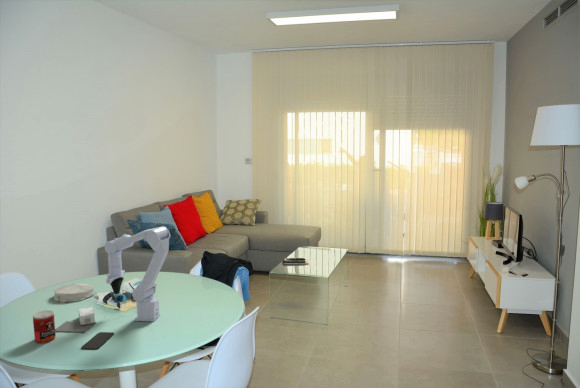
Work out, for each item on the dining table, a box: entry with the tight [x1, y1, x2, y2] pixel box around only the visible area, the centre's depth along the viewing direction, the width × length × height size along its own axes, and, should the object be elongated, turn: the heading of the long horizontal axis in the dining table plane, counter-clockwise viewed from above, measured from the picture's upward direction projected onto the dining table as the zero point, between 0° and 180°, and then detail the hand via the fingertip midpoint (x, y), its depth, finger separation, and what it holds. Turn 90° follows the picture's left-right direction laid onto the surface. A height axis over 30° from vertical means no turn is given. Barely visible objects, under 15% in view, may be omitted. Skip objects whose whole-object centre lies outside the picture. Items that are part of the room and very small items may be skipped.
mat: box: [55, 320, 97, 334], centre depth 199 cm, size 14×10×1 cm
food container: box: [53, 283, 96, 303], centre depth 238 cm, size 20×20×7 cm
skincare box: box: [78, 306, 96, 325], centre depth 206 cm, size 6×4×12 cm
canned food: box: [32, 310, 56, 344], centre depth 187 cm, size 8×8×11 cm
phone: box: [80, 331, 115, 351], centre depth 186 cm, size 7×1×15 cm
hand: (116, 293), depth 213 cm, fingers closed
